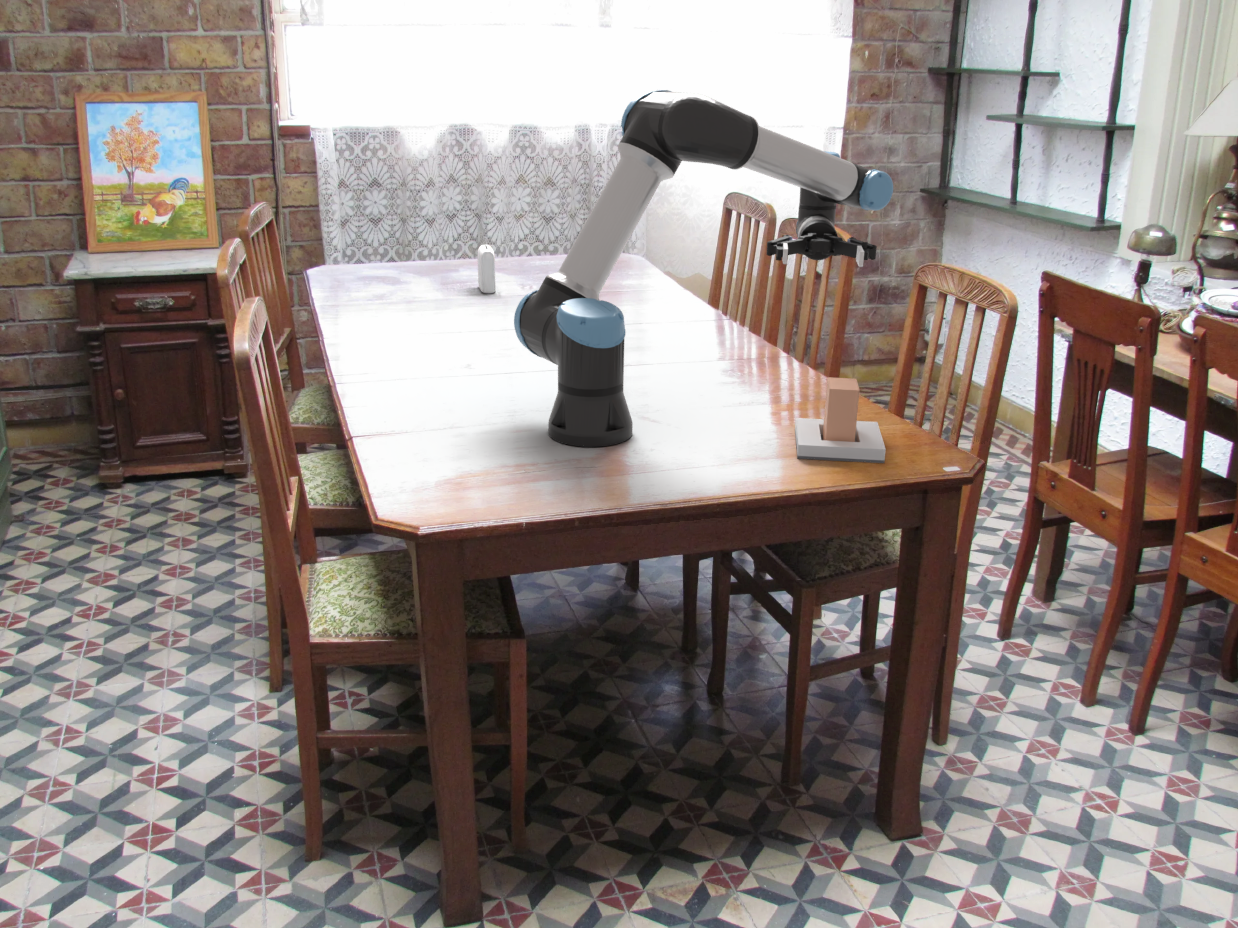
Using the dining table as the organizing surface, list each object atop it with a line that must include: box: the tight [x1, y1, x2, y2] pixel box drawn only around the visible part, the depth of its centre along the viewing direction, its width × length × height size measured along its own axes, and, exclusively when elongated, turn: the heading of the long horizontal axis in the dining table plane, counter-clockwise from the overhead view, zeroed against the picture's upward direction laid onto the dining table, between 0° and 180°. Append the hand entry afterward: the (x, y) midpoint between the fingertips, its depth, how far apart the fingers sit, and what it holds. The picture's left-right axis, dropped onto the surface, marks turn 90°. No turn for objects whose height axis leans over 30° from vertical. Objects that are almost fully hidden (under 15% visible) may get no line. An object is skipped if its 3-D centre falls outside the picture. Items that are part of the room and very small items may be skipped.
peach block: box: [823, 376, 860, 442], centre depth 199 cm, size 5×7×11 cm
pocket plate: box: [794, 417, 887, 464], centre depth 200 cm, size 15×15×2 cm
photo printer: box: [476, 244, 496, 294], centre depth 314 cm, size 10×4×12 cm, turn 13°
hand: (823, 258), depth 206 cm, fingers open, 13 cm apart
